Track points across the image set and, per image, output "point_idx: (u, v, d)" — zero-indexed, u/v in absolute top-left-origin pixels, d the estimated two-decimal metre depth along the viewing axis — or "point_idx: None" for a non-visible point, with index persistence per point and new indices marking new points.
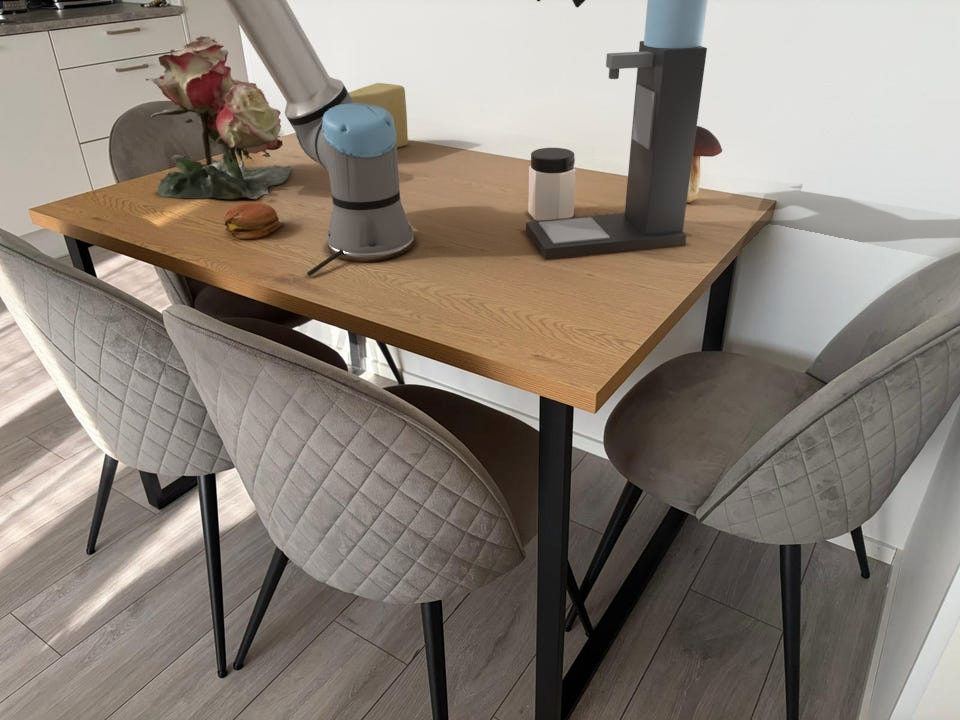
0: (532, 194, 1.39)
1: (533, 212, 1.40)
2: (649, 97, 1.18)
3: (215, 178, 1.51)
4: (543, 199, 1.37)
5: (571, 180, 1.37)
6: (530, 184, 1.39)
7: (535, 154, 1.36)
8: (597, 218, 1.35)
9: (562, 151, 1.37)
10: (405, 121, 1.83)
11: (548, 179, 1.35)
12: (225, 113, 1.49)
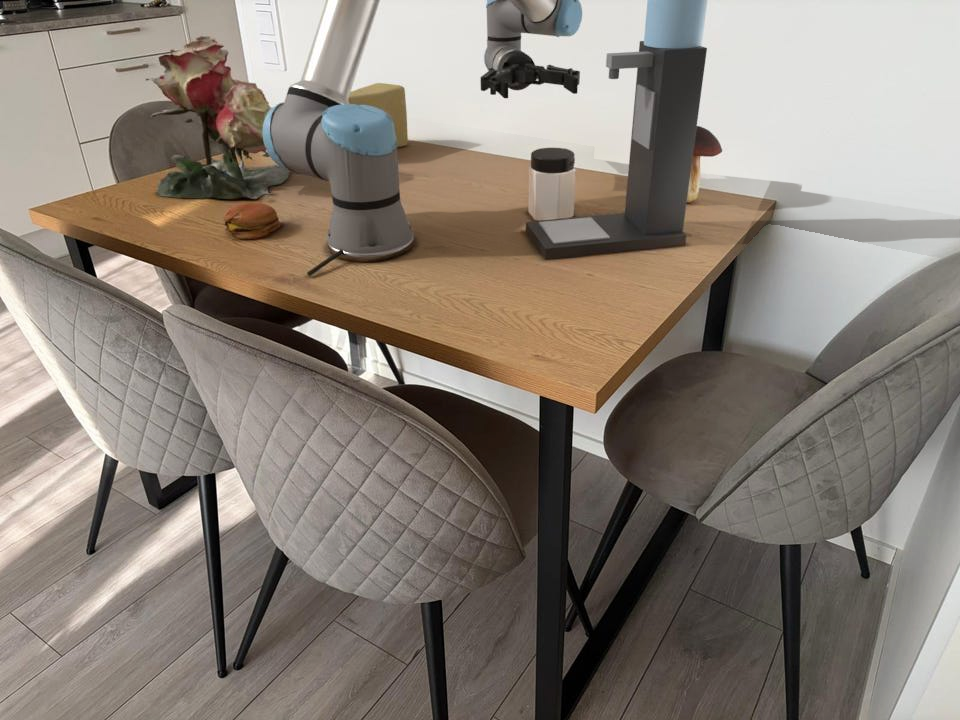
0: (532, 194, 1.39)
1: (533, 212, 1.40)
2: (649, 97, 1.18)
3: (215, 177, 1.51)
4: (543, 199, 1.37)
5: (571, 180, 1.37)
6: (530, 184, 1.39)
7: (535, 154, 1.36)
8: (597, 218, 1.35)
9: (562, 151, 1.37)
10: (405, 121, 1.83)
11: (548, 179, 1.35)
12: (225, 112, 1.49)
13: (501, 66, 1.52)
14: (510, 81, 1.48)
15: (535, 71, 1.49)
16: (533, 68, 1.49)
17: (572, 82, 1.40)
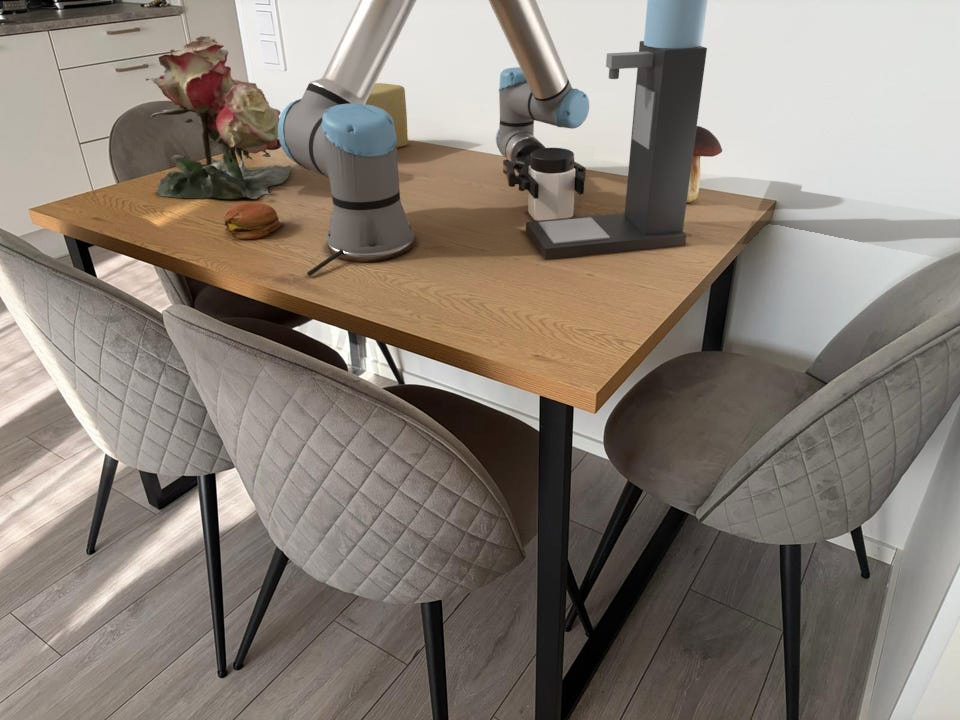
0: None
1: (533, 212, 1.40)
2: (649, 97, 1.18)
3: (215, 177, 1.51)
4: (543, 199, 1.37)
5: (570, 180, 1.36)
6: None
7: (535, 154, 1.36)
8: (597, 218, 1.35)
9: (562, 151, 1.37)
10: (405, 121, 1.83)
11: (548, 179, 1.35)
12: (225, 112, 1.49)
13: (514, 155, 1.50)
14: None
15: None
16: None
17: (578, 183, 1.36)
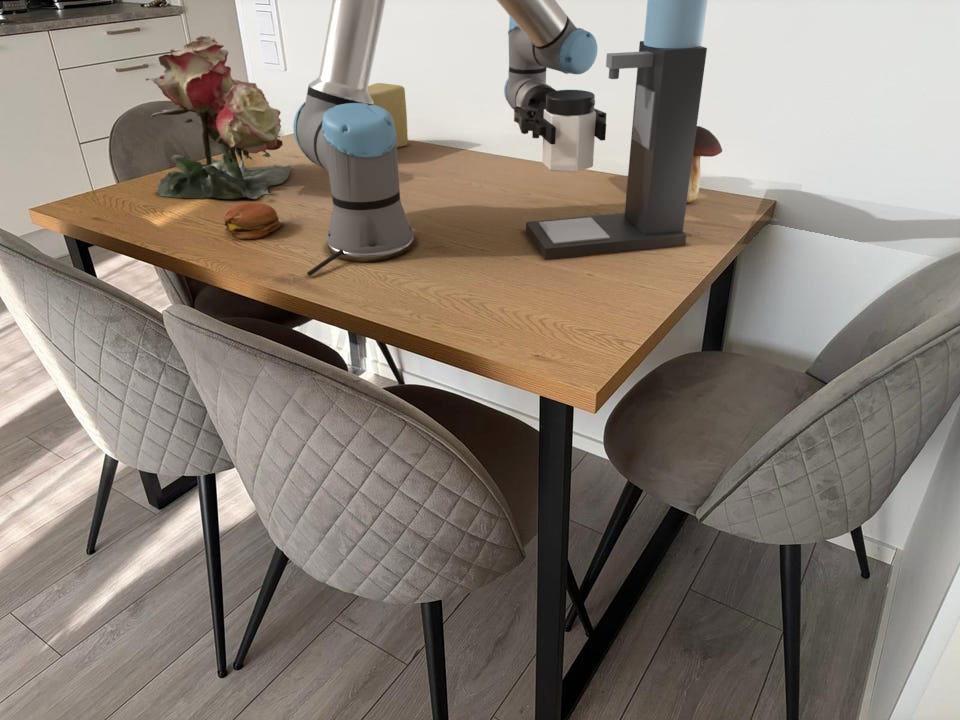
0: (547, 141, 1.25)
1: (548, 161, 1.26)
2: (649, 97, 1.18)
3: (215, 177, 1.51)
4: (560, 146, 1.23)
5: (591, 124, 1.23)
6: None
7: (551, 95, 1.22)
8: (597, 218, 1.35)
9: (581, 92, 1.23)
10: (405, 121, 1.83)
11: (566, 123, 1.21)
12: (225, 112, 1.49)
13: (526, 103, 1.36)
14: None
15: None
16: None
17: (599, 127, 1.22)
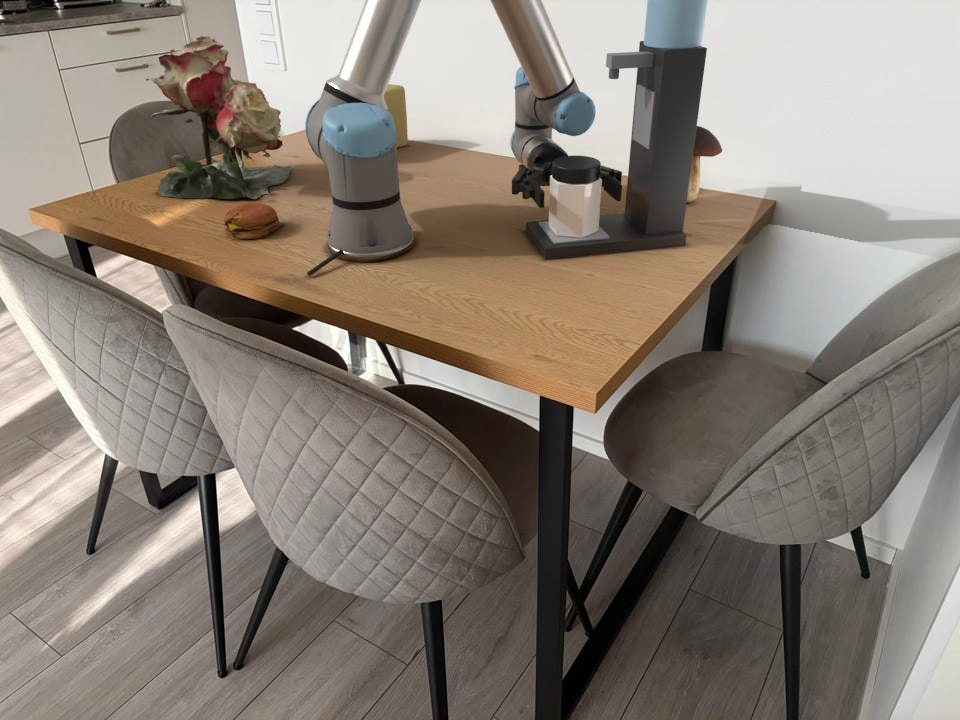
0: (553, 207, 1.26)
1: (554, 226, 1.27)
2: (649, 97, 1.18)
3: (215, 177, 1.51)
4: (566, 212, 1.24)
5: (596, 191, 1.24)
6: (551, 196, 1.26)
7: (557, 163, 1.23)
8: None
9: (587, 160, 1.24)
10: (405, 121, 1.83)
11: (571, 191, 1.22)
12: (225, 112, 1.49)
13: (532, 161, 1.37)
14: (543, 181, 1.33)
15: None
16: None
17: (615, 188, 1.25)
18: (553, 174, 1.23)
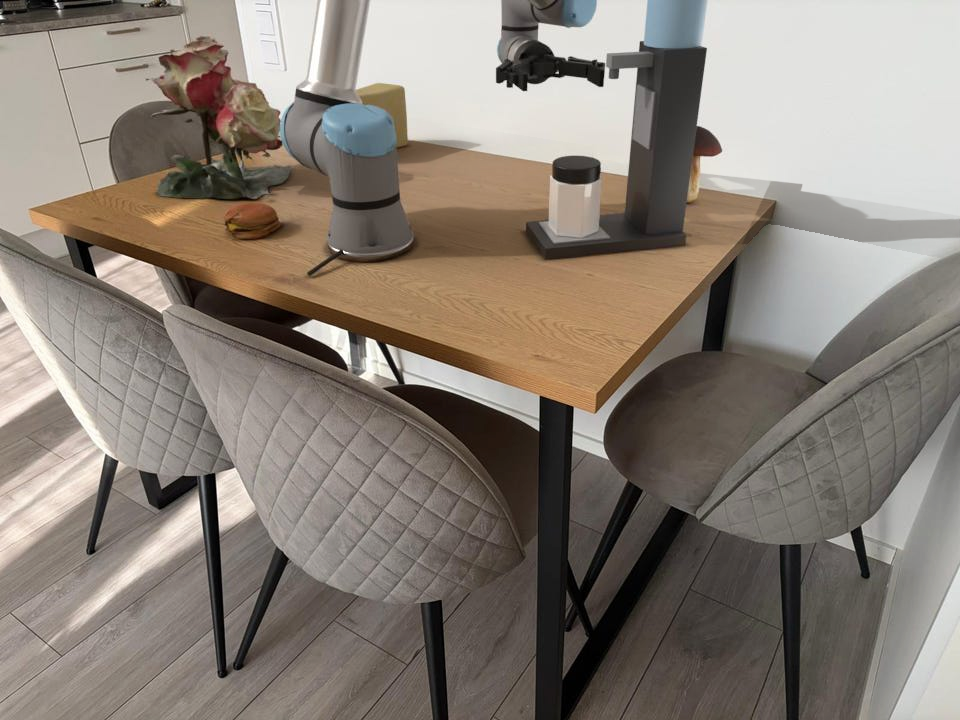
0: (553, 207, 1.26)
1: (554, 226, 1.27)
2: (649, 97, 1.18)
3: (215, 177, 1.51)
4: (566, 212, 1.24)
5: (596, 191, 1.24)
6: (551, 196, 1.26)
7: (557, 163, 1.23)
8: None
9: (587, 160, 1.24)
10: (405, 121, 1.83)
11: (572, 191, 1.22)
12: (225, 112, 1.49)
13: (517, 57, 1.39)
14: (528, 73, 1.34)
15: (555, 63, 1.35)
16: (553, 59, 1.35)
17: (598, 74, 1.26)
18: (553, 174, 1.23)
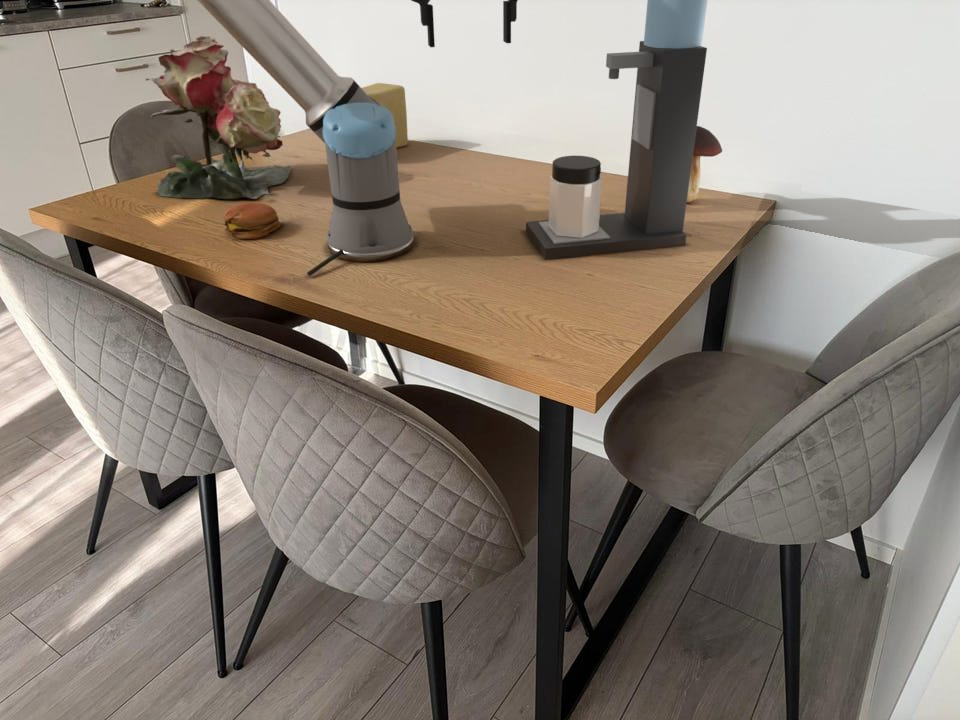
0: (553, 207, 1.26)
1: (554, 226, 1.27)
2: (649, 97, 1.18)
3: (215, 177, 1.51)
4: (566, 212, 1.24)
5: (596, 191, 1.24)
6: (551, 196, 1.26)
7: (557, 163, 1.23)
8: None
9: (587, 160, 1.24)
10: (405, 121, 1.83)
11: (572, 191, 1.22)
12: (225, 112, 1.49)
13: None
14: None
15: None
16: None
17: None
18: (553, 174, 1.23)
